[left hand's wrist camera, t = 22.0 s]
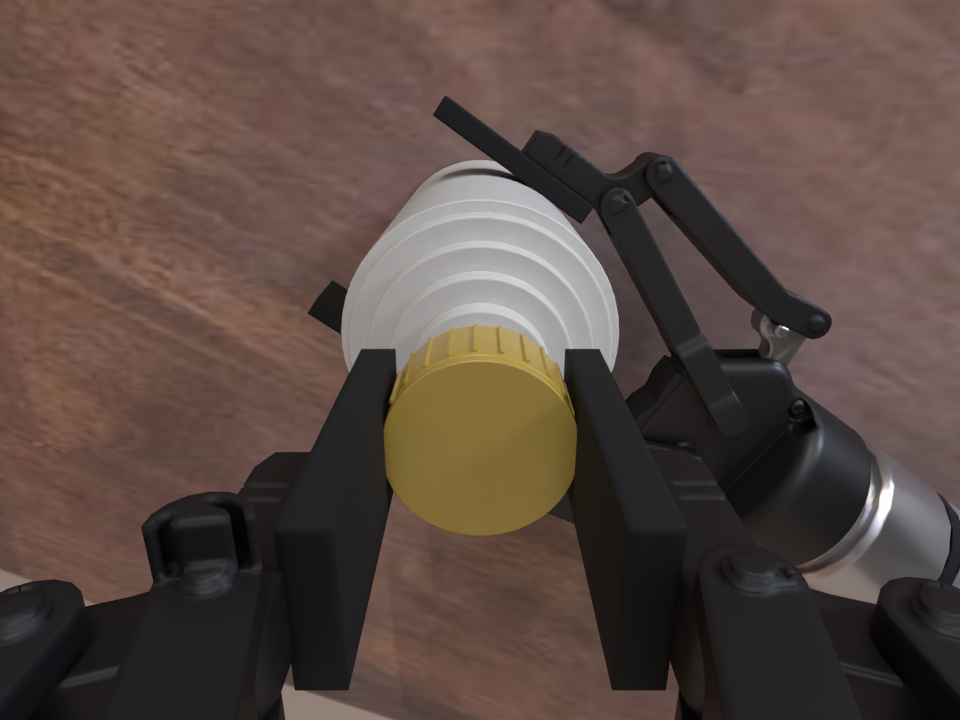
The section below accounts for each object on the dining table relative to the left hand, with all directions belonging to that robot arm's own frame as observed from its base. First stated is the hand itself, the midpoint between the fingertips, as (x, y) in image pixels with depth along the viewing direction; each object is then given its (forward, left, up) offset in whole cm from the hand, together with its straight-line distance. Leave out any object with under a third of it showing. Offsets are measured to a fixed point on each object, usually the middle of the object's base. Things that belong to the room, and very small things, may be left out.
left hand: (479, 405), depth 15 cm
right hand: (-5, +1, -12) cm, 13 cm away
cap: (0, 0, +2) cm, 2 cm away
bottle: (0, 0, -18) cm, 18 cm away
